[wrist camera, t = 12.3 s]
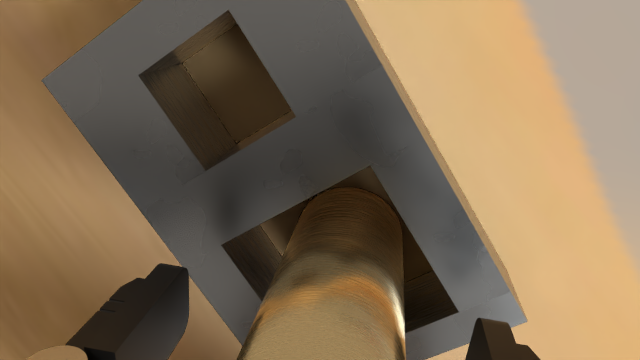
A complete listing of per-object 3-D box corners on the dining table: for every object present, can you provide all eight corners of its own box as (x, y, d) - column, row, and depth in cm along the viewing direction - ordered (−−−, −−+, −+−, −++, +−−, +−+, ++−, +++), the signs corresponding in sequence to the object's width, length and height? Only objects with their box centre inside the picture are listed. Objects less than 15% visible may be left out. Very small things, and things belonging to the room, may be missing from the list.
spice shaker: (291, 189, 18) (141, 459, 7) (399, 184, 17) (404, 474, 7) (303, 282, 19) (193, 620, 9) (404, 281, 18) (416, 647, 8)
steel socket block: (99, 67, 17) (41, 80, 14) (304, -89, 14) (282, -111, 12) (305, 353, 20) (290, 409, 17) (507, 270, 17) (527, 321, 15)
